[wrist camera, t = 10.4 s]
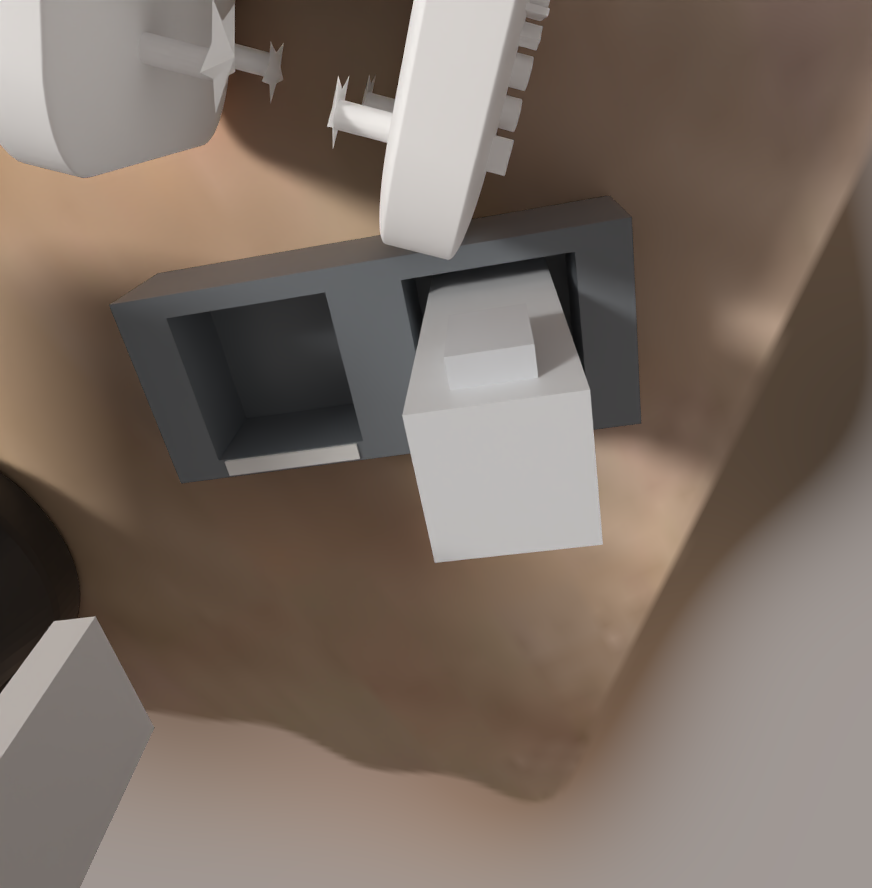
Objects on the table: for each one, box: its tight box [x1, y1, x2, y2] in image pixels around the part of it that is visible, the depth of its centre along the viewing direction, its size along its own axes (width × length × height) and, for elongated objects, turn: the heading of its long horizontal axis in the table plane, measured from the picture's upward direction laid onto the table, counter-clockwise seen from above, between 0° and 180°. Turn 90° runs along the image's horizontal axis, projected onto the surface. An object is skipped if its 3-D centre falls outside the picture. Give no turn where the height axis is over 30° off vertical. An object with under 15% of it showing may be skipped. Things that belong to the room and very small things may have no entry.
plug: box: [402, 257, 603, 563], centre depth 21 cm, size 4×5×12 cm
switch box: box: [109, 196, 641, 483], centre depth 25 cm, size 17×7×4 cm, turn 100°
